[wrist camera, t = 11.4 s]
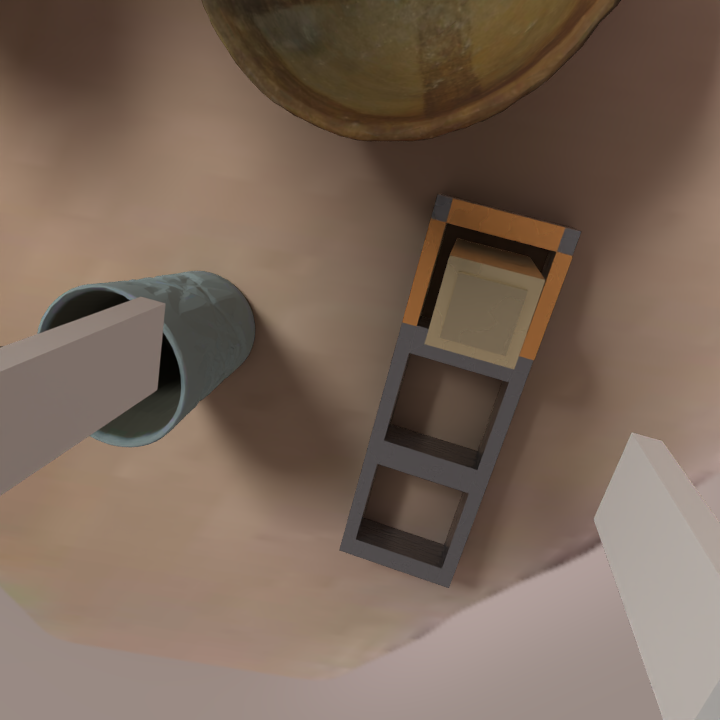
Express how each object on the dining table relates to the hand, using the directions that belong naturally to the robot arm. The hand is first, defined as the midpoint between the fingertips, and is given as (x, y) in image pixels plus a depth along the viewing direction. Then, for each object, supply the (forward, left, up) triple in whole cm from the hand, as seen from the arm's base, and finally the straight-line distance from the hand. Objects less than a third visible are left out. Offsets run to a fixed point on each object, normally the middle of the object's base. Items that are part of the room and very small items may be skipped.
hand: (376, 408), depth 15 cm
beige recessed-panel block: (0, +3, -25) cm, 26 cm away
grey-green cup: (+9, -17, -26) cm, 32 cm away
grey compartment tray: (+9, +3, -25) cm, 27 cm away
